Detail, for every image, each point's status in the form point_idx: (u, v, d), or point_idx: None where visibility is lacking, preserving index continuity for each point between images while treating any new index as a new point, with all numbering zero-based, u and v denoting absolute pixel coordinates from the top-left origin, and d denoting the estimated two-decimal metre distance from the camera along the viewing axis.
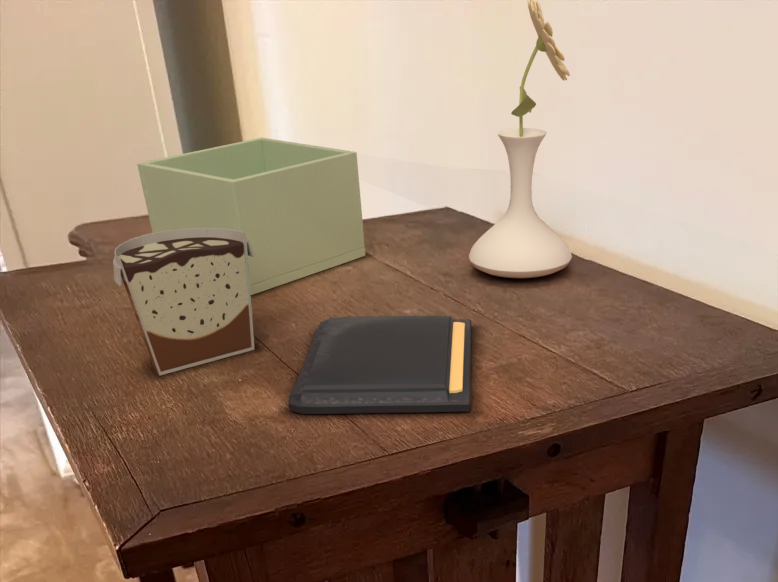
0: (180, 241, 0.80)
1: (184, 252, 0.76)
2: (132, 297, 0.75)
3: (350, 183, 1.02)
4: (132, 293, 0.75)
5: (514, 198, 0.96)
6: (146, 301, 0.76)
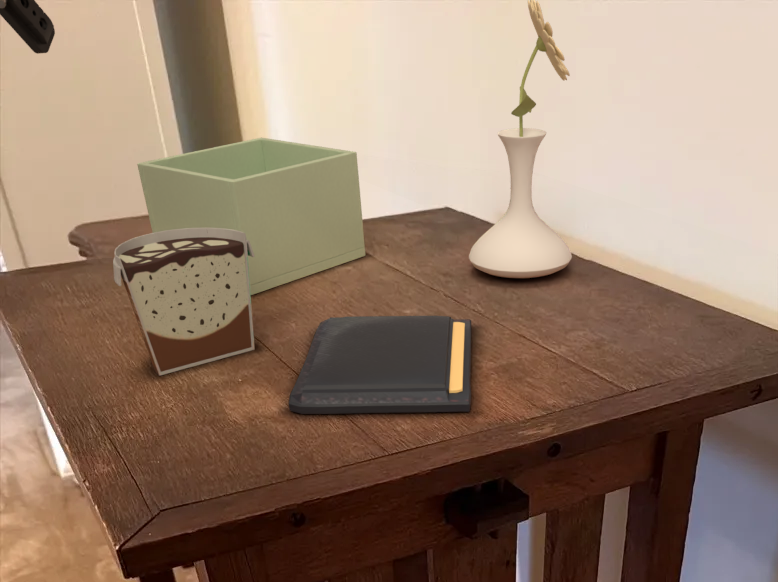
0: (180, 241, 0.80)
1: (184, 252, 0.76)
2: (132, 297, 0.75)
3: (350, 183, 1.02)
4: (132, 293, 0.75)
5: (514, 198, 0.96)
6: (146, 301, 0.76)
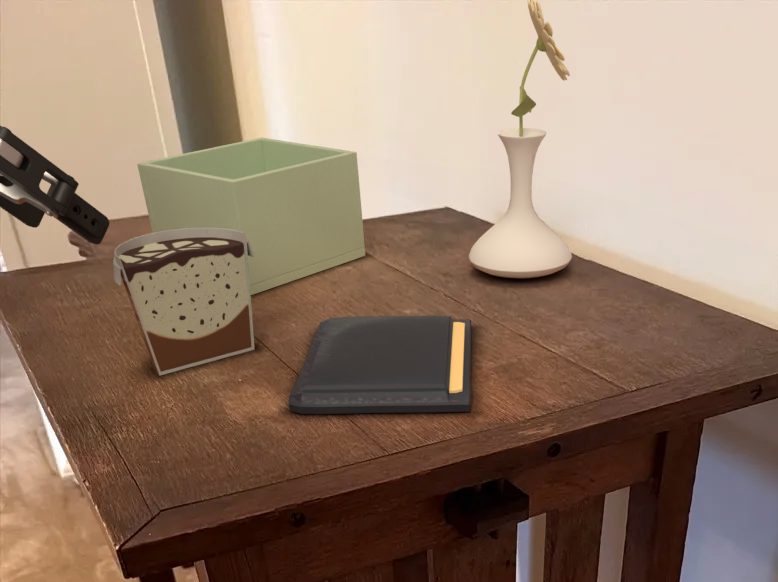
0: (180, 241, 0.80)
1: (184, 252, 0.76)
2: (132, 297, 0.75)
3: (350, 183, 1.02)
4: (132, 293, 0.75)
5: (514, 198, 0.96)
6: (146, 301, 0.76)
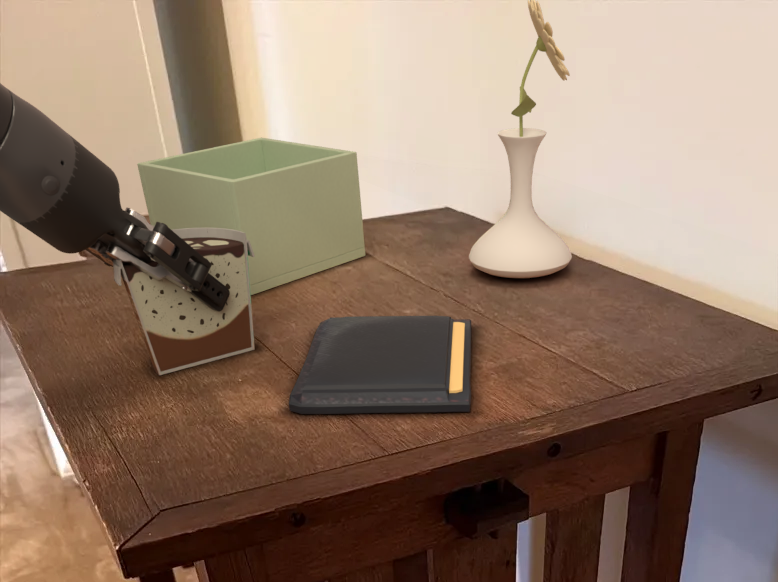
0: None
1: None
2: (132, 297, 0.75)
3: (350, 183, 1.02)
4: (132, 293, 0.75)
5: (514, 198, 0.96)
6: (146, 300, 0.76)
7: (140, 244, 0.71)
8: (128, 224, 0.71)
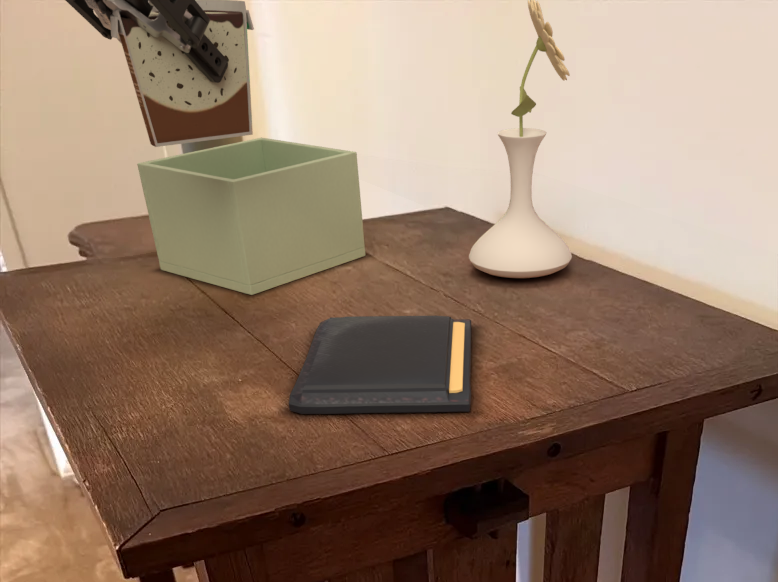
0: None
1: None
2: (129, 53, 0.74)
3: (350, 183, 1.02)
4: (129, 49, 0.74)
5: (514, 198, 0.96)
6: (143, 60, 0.75)
7: None
8: None
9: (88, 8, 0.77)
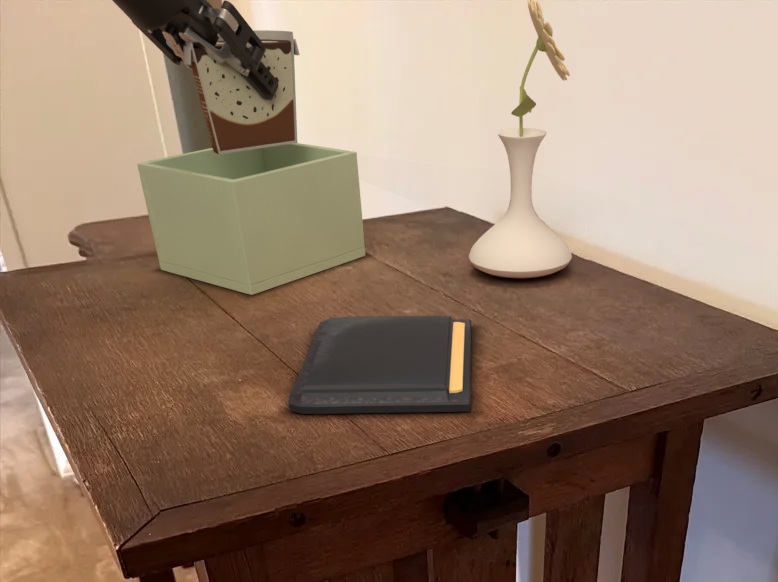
0: None
1: None
2: (199, 77, 0.90)
3: (350, 183, 1.02)
4: (199, 73, 0.90)
5: (514, 198, 0.96)
6: (210, 82, 0.91)
7: (209, 23, 0.86)
8: (199, 4, 0.85)
9: (162, 39, 0.92)
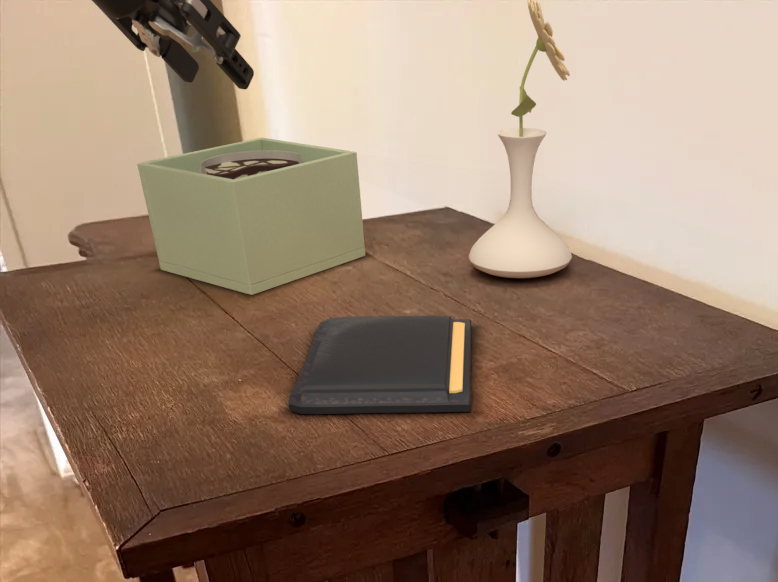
0: (249, 161, 1.02)
1: (253, 166, 0.98)
2: None
3: (350, 183, 1.02)
4: None
5: (514, 198, 0.96)
6: None
7: (179, 12, 0.83)
8: None
9: (128, 25, 0.90)
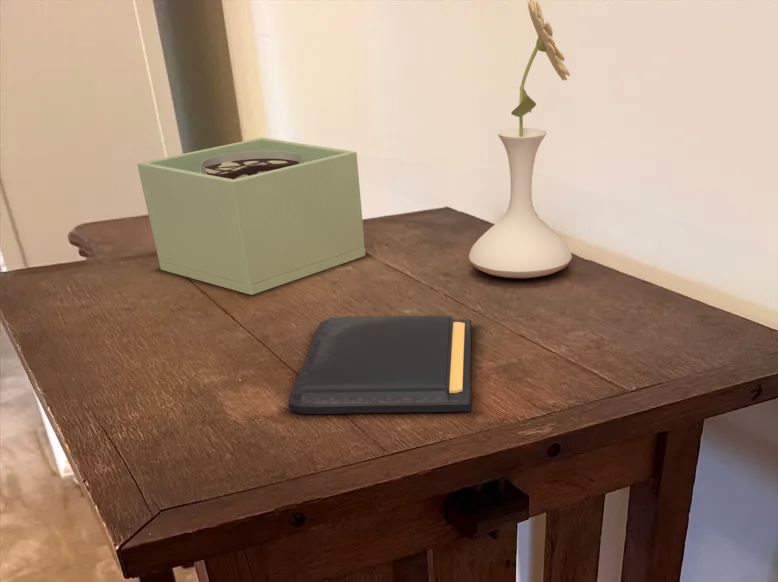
0: (249, 161, 1.02)
1: (253, 166, 0.98)
2: None
3: (350, 183, 1.02)
4: None
5: (514, 198, 0.96)
6: None
7: None
8: None
9: None
